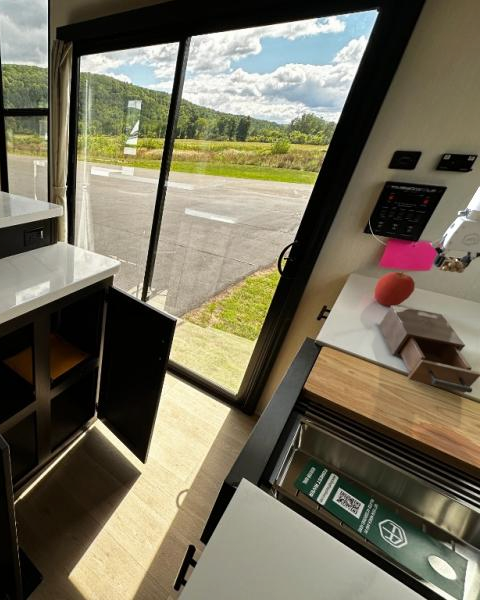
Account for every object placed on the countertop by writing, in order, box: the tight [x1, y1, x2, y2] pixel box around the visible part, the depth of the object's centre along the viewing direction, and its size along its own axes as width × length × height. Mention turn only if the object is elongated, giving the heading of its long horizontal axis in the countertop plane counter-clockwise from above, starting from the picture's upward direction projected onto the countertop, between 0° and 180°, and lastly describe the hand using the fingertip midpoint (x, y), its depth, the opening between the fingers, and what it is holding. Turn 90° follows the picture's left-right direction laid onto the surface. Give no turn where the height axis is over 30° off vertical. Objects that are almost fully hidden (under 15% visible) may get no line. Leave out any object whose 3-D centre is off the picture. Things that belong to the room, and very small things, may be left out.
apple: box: [374, 271, 416, 307], centre depth 117 cm, size 10×10×14 cm
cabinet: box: [378, 305, 466, 358], centre depth 99 cm, size 17×13×9 cm
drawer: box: [399, 336, 480, 394], centre depth 88 cm, size 20×11×7 cm, turn 153°
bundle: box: [438, 254, 468, 274], centre depth 109 cm, size 8×6×3 cm
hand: (448, 266), depth 109 cm, fingers closed on bundle, 5 cm apart
